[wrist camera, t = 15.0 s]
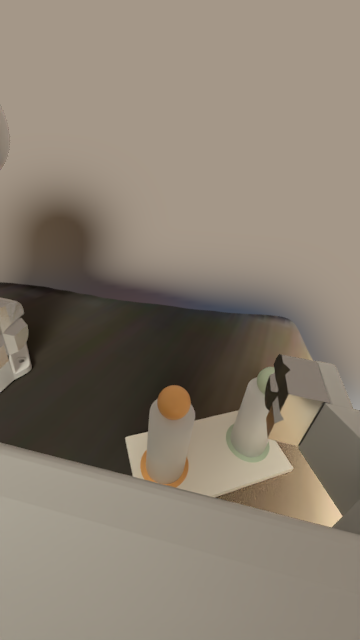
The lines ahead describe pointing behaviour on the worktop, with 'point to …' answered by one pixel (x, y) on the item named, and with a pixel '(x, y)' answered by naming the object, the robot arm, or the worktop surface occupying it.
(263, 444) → the green ball tube
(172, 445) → the orange ball tube
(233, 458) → the card
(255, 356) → the worktop surface
